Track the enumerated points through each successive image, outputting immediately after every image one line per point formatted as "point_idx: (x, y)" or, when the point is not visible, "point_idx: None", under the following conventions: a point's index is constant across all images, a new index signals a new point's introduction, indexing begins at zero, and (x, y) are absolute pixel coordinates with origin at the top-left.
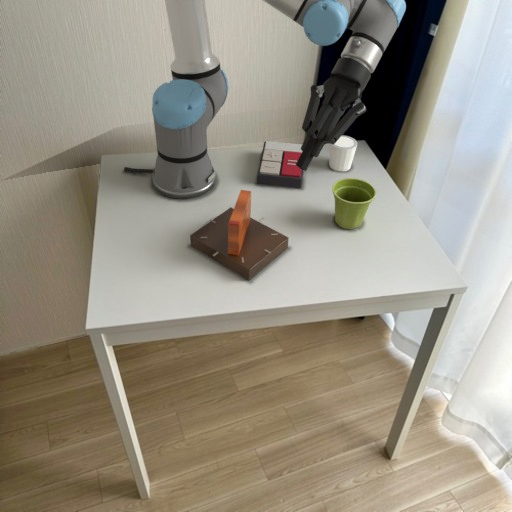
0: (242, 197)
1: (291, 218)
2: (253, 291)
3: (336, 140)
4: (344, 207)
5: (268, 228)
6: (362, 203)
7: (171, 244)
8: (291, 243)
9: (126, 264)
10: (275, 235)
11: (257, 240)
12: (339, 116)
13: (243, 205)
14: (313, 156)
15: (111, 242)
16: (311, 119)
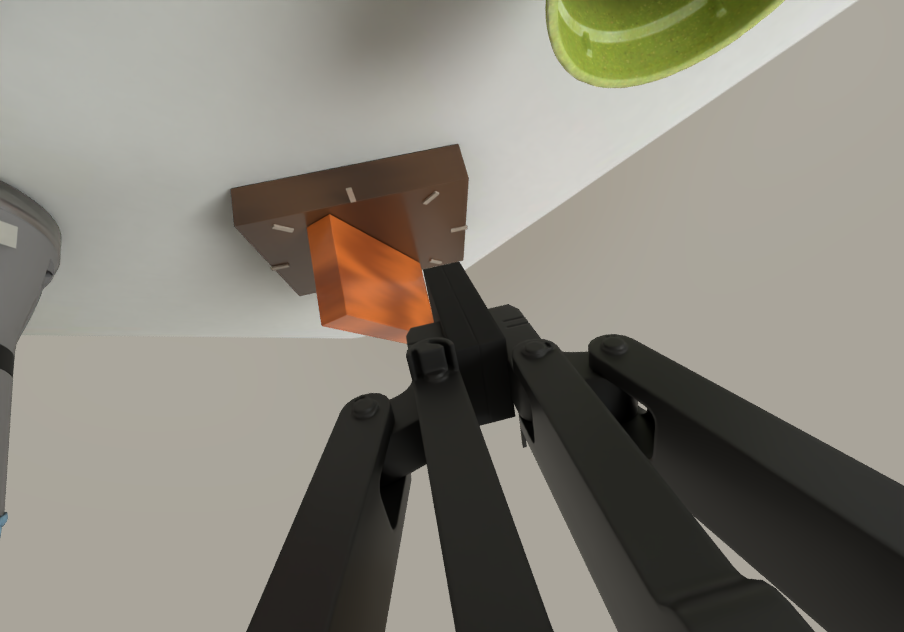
0: (357, 327)
1: (356, 39)
2: (478, 236)
3: (649, 359)
4: (632, 20)
5: (398, 197)
6: (754, 21)
7: (268, 284)
8: (454, 124)
9: (282, 320)
10: (434, 196)
11: (413, 228)
12: (719, 575)
13: (388, 329)
14: (479, 298)
15: (209, 328)
16: (388, 532)
